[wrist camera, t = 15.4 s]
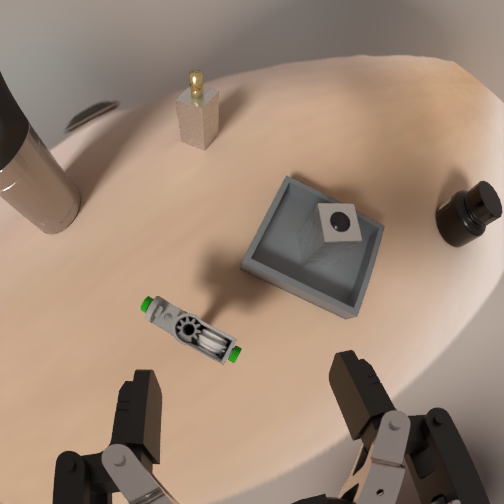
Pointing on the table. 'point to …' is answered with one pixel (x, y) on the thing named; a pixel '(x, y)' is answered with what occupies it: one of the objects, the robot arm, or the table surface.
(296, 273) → the tray
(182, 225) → the table surface
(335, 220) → the block
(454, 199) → the ink bottle
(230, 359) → the mechanical component
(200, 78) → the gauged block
